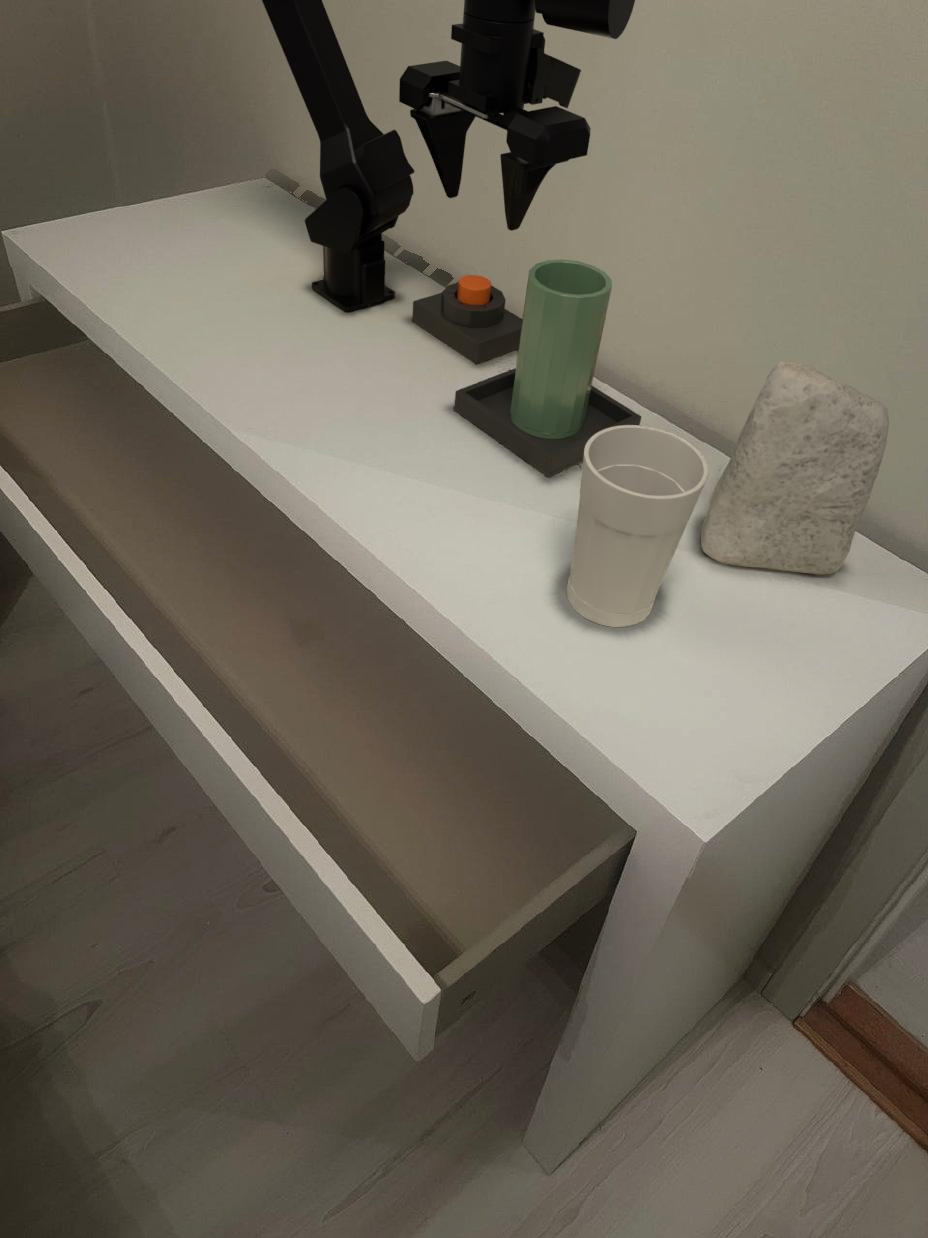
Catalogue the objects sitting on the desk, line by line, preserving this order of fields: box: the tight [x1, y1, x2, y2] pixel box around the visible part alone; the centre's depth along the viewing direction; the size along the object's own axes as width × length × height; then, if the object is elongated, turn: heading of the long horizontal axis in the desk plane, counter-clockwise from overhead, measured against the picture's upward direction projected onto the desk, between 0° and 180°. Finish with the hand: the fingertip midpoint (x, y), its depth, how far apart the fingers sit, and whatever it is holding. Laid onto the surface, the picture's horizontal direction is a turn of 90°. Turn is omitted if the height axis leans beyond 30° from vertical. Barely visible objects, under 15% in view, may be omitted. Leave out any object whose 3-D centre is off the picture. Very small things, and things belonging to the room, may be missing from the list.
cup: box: [566, 424, 709, 628], centre depth 63 cm, size 8×8×12 cm
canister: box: [510, 259, 613, 439], centre depth 78 cm, size 7×7×13 cm
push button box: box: [411, 282, 523, 365], centre depth 92 cm, size 10×7×4 cm
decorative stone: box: [700, 360, 890, 575], centre depth 68 cm, size 11×6×15 cm, turn 78°
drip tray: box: [453, 367, 642, 479], centre depth 83 cm, size 12×11×2 cm
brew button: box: [457, 274, 492, 305], centre depth 91 cm, size 3×3×2 cm
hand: (482, 212), depth 85 cm, fingers open, 8 cm apart
